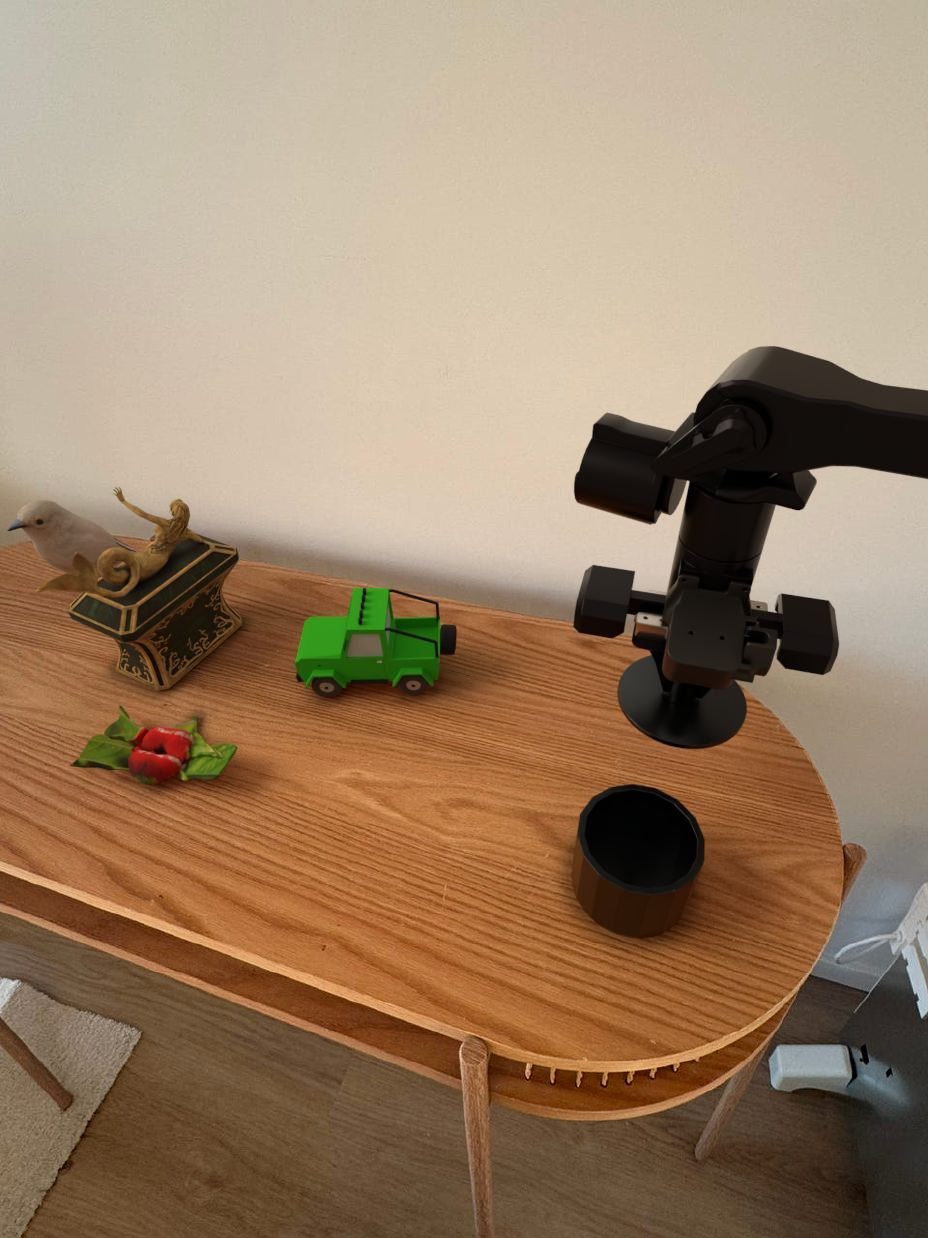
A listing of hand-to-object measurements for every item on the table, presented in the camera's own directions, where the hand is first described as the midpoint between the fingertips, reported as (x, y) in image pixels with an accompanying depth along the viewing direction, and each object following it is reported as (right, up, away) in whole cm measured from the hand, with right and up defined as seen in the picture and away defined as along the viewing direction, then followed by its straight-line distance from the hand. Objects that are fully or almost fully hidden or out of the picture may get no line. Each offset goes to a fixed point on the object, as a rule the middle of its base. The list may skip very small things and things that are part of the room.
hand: (682, 691), depth 61 cm
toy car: (-28, 0, +21) cm, 34 cm away
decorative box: (-52, +2, +24) cm, 58 cm away
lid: (0, -1, +1) cm, 1 cm away
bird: (-65, +9, +33) cm, 73 cm away
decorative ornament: (-47, -8, +12) cm, 50 cm away
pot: (-4, -16, +1) cm, 17 cm away
